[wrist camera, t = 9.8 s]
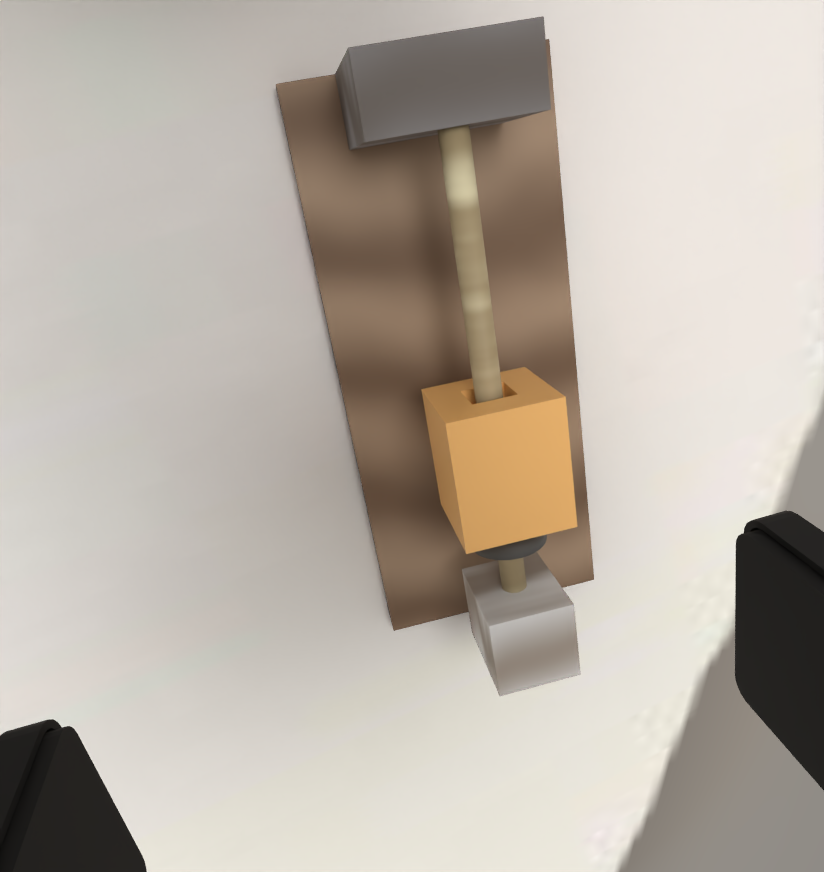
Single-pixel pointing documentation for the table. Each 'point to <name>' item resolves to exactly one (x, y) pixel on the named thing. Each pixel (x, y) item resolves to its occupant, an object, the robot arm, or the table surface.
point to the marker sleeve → (502, 460)
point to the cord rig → (446, 307)
